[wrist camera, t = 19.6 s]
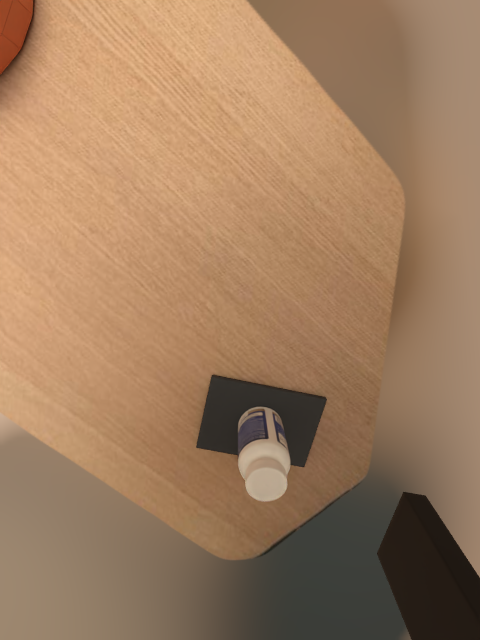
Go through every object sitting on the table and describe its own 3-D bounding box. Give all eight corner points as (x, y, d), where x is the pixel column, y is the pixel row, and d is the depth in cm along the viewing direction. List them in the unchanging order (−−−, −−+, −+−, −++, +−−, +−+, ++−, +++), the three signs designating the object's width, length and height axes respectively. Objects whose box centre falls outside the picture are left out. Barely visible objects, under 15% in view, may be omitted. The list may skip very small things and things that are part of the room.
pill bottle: (232, 437, 41) (230, 500, 32) (245, 400, 40) (247, 455, 31) (274, 447, 42) (284, 513, 33) (288, 411, 40) (303, 469, 31)
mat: (325, 397, 41) (326, 399, 40) (303, 464, 43) (304, 467, 43) (212, 374, 40) (211, 376, 39) (196, 444, 42) (196, 447, 42)
